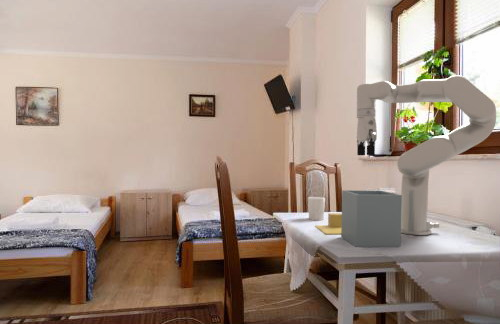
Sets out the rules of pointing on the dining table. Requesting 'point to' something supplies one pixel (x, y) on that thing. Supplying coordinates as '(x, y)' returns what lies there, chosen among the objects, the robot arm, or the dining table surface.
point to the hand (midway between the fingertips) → (365, 155)
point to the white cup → (316, 208)
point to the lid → (332, 224)
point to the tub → (371, 218)
